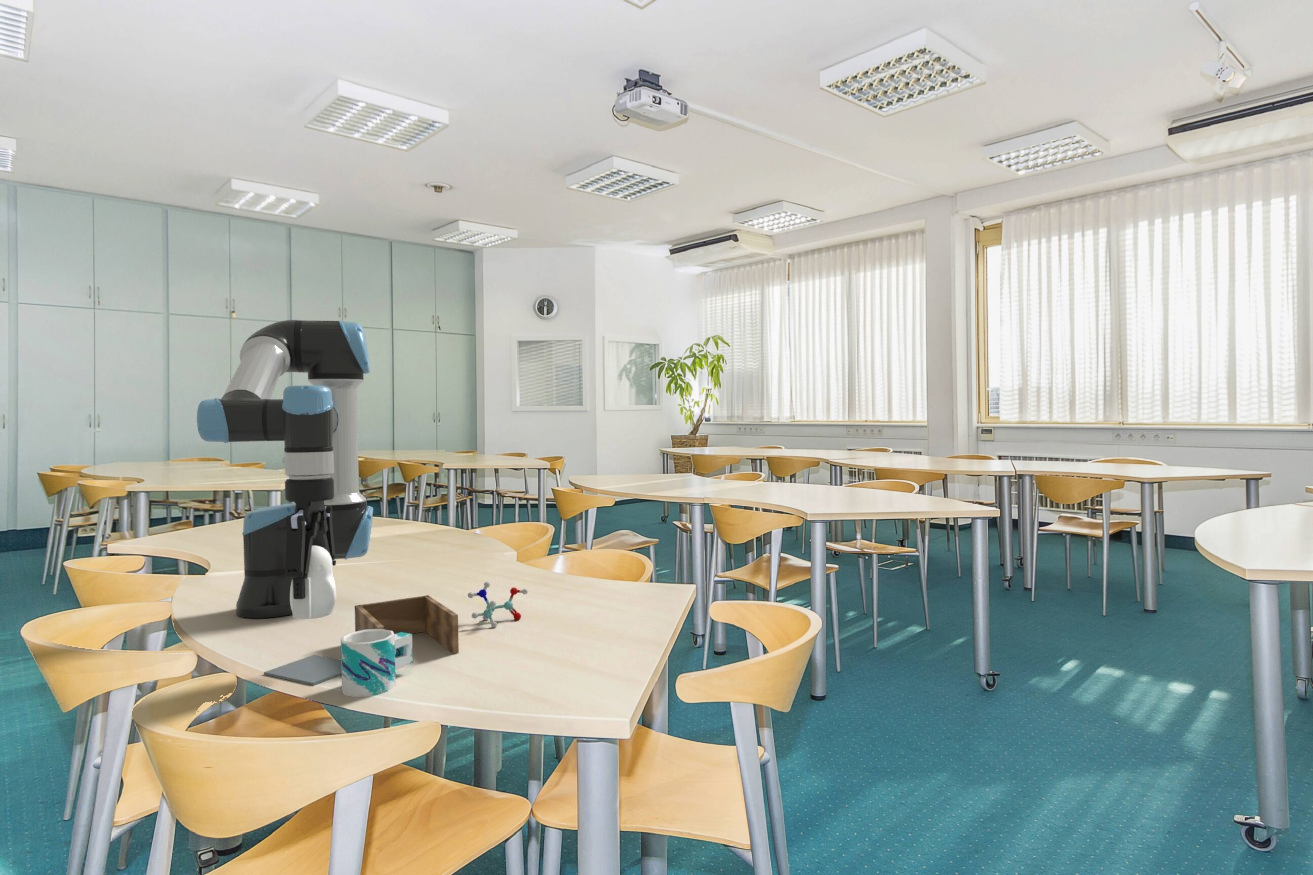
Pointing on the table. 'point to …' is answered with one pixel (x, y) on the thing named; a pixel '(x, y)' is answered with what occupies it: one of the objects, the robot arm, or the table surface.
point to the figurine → (320, 583)
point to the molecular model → (491, 605)
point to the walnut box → (411, 619)
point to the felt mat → (308, 670)
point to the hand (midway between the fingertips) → (312, 610)
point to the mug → (373, 660)
